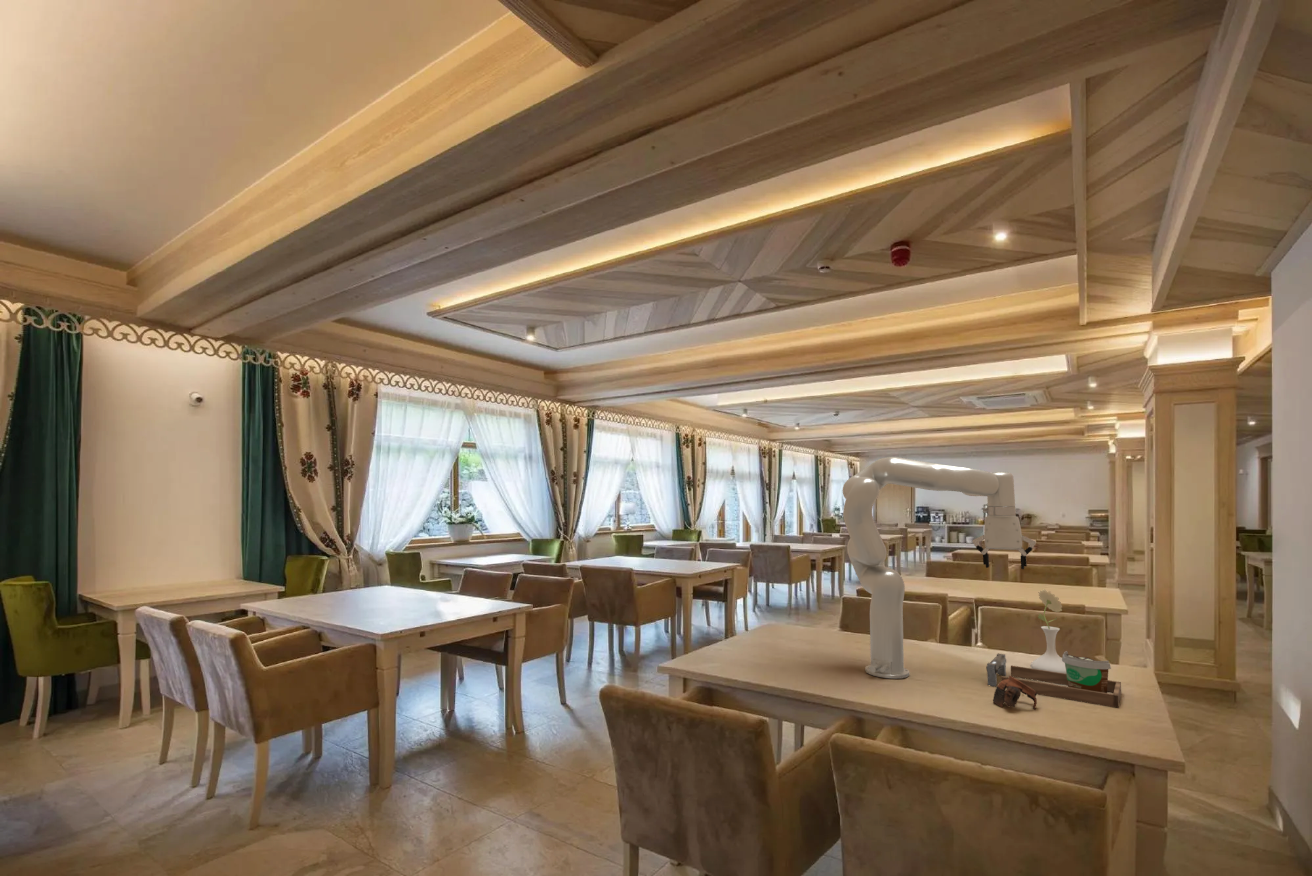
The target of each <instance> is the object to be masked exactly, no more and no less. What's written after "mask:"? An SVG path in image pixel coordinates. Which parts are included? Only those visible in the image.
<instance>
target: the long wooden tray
mask: <svg viewBox="0 0 1312 876" xmlns="http://www.w3.org/2000/svg"><path fill="white" fill-rule="evenodd" d="M1010 676H1014V678H1016V679H1017V680H1019V681H1020V682H1022V683H1024V684H1025V685H1027V686H1029V687H1030V688H1032V689H1034V690H1035V691H1036V692H1037V693H1038V694H1037V695H1042V696H1046V697H1053V698H1059V699H1064V698H1065V699H1064V700H1070V701H1075V700H1077V701H1076V702H1081V701H1082V703H1087V702H1088V704H1093V705H1098V704H1100V706H1103V707H1104V706H1105V707H1110V708H1117V709H1119V706H1120V703H1121V702H1120V701H1121V697H1122V682H1121V681H1117V680H1110V679H1108V685H1107V693H1103V692H1096V691H1090V690H1084V689H1078V688H1072V687H1068V682H1067V675H1066V674H1065V673H1058V672H1052V671H1045V670H1038V669H1032V668H1030V667H1025V666H1017V665H1010ZM1018 677H1021V678H1018ZM1008 678H1009V676H1001V675H1000V682H1001V681H1003V680H1006V679H1008ZM1025 678H1026V679H1025ZM1031 679H1033V680H1031ZM1037 680H1038V681H1037ZM1043 681H1045V682H1043ZM1005 690H1007V687H1006V689H1005Z"/></svg>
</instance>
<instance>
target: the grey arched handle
mask: <svg viewBox="0 0 1312 876" xmlns="http://www.w3.org/2000/svg"><path fill="white" fill-rule="evenodd" d="M1006 664H1007V658H1006V654H1004V653H997V654H996V656H995V657H994V658H993V659H992V660H991V661H989V662H988V663H986V668H985V669H986V671H987V672H986V677H987V686H988V685H990V686H989V687H994V686H995V688H996V687H997V686H998V681H997V677H998V676H1001V675H1003V676H1004V677H1006V676H1007V665H1006ZM997 674H999V675H997ZM996 685H997V686H996Z"/></svg>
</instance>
